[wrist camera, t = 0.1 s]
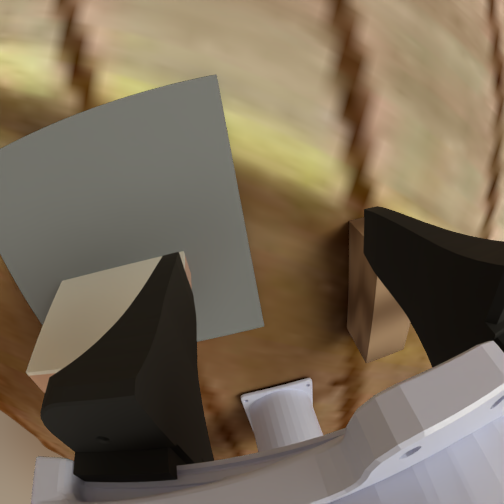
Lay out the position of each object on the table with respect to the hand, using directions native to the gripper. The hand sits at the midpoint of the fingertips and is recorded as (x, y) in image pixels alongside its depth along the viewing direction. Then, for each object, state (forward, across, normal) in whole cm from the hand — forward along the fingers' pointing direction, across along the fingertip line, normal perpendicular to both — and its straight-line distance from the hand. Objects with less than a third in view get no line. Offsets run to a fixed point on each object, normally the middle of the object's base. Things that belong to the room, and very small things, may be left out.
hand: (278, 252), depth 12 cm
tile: (+10, +10, +6) cm, 15 cm away
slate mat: (+10, +10, +4) cm, 15 cm away
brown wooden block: (+10, -10, +12) cm, 18 cm away
